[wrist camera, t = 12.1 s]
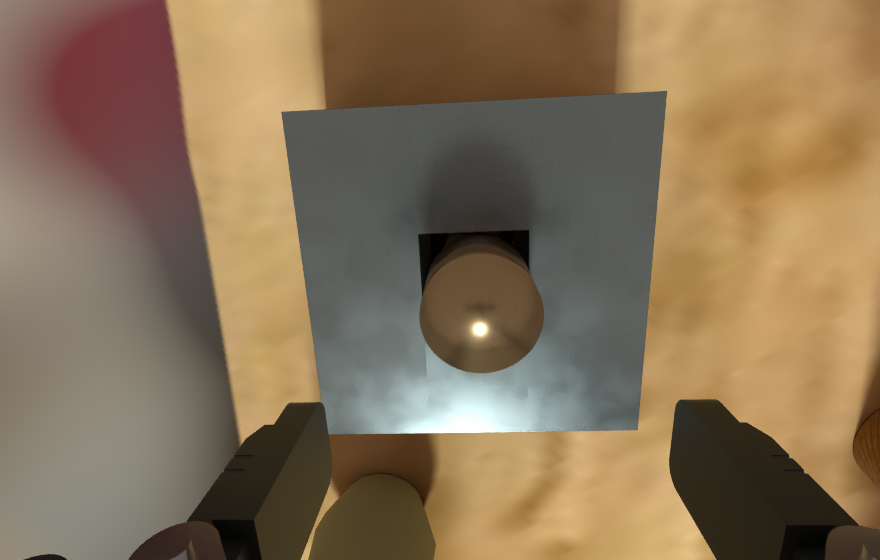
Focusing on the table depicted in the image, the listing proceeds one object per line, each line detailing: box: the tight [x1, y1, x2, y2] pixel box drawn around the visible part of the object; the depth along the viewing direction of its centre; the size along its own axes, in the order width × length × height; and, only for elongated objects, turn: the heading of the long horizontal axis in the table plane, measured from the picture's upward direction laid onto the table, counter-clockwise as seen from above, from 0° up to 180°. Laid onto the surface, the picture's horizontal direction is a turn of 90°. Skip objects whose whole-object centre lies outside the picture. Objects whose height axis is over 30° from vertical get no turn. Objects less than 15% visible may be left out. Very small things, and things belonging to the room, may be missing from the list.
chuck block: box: [282, 91, 667, 434], centre depth 25 cm, size 16×16×7 cm
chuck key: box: [419, 231, 544, 373], centre depth 24 cm, size 5×5×11 cm
